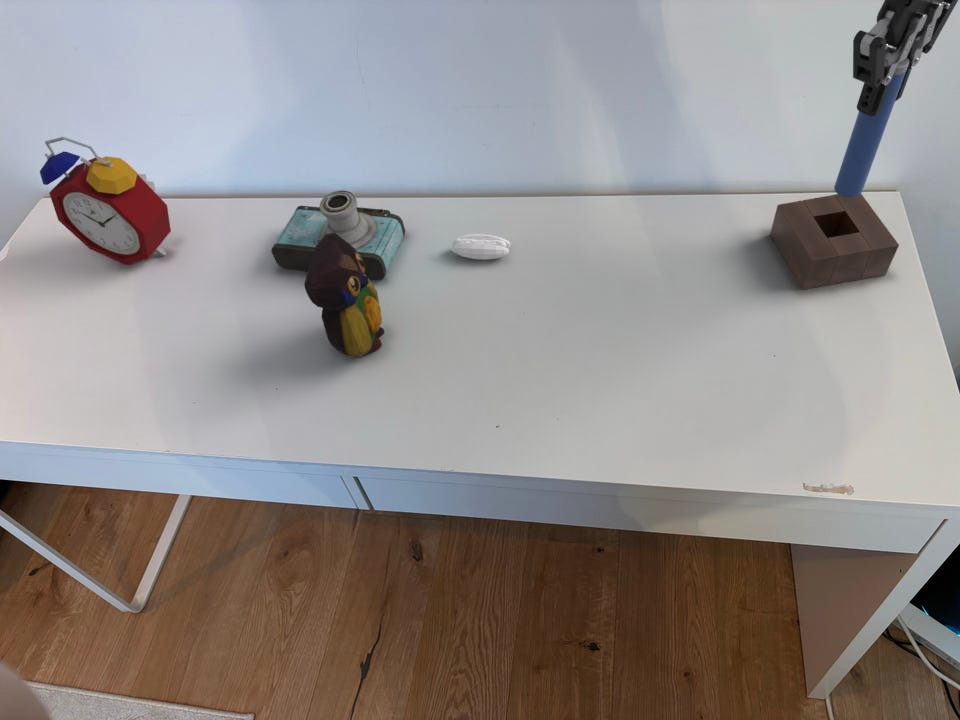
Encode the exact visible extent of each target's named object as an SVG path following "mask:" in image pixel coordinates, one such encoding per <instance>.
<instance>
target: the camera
mask: <svg viewBox="0 0 960 720" xmlns="http://www.w3.org/2000/svg"><path fill="white" fill-rule="evenodd" d="M334 232H335V233H336V234H337V235H338V236H340V237H341V238H342V239H344V240H345V241H346V242H348V243H349V244H350V245H351V246H352V247H354V248H355V249H356V251H357V252H358V253H359V254H360V256H361V258H362V260H363V263H364V267H365V273H364V274H365V275H366V276H367V277H368V279H369V280H383V279H384V278H385V277H386V275H387V273H388V270H390V266H391V265H392V262H393V260H394V258H395V256H396V254H397V252H398V249H399V248H400V245H401V243H402V241H403V239H404V237H405V235H406V229H405V224H404V222H403V219H402V217H401V216H399V215H398V214H395V213H391V211H390V210H389V209H383V208H371V207H370V208H369V207H358V200H357V197H356V194H354V193H353V192H352V191H349V190H336V191H333V192H330V193H328V194H327V195H325V196H324V197H323V198H322V199H321V200H320V202H319V206H309V205H298V206H297V207H296V209H295V210H294V212H293V213H292V215H291V216H290V218H289V220H288V221H287V223H286V225H285V226H284V228H283V229H282V231H281V233H280V235H279V236H278V237H277V239H276V241H275V242H274V244H273V246H272V248H271V249H270V250H271V251H270V252H271V254H272V256H273V258H274V261H275V263H276V264H277V265H278V266H279V267H280V268H283V269H285V270H292V271H301V272H308V266H309V264H310V262H311V259H312V257H313V254H314V251H315V248H316V246H317V244H318V243H319V242H320V241H321V240H322V238H323V237H324V236H325V235H326V234H330V233H334Z"/></svg>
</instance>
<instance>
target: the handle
mask: <svg viewBox="0 0 960 720" xmlns="http://www.w3.org/2000/svg"><path fill="white" fill-rule="evenodd" d="M887 64H888V62H887V60H885V63H884V70H885V69H886V67H887ZM908 65H909V59H908V58H907V57H906V59H905V60H903V61H900V62H899V63H898V65H897V68H896V70H895V72H894V75H893V77H892V79H891V81H890V85H889V87H888V90H887V93H886V96H885V99H884V102H883V104H882V107H881V110H880V112H879V113H878V114H876V115H875V116H873V117H871V116H869V115H866V114H864V113H862V112H860V111H858V112H857V116H856V118H855V121H854V125H853V128H852V131H851V134H850V136H849V140H848V143H847V147H846V150H845V153H844V156H843V159H842V161H841V165H840V168H839V171H838V173H837V177H836V179H835V184H834V186H833V188H834V189H833V190H834V192H835V193H836V194H839V195H841V196H843V197H856V196H859V195H860V194H862V193H863V191H864V190H863V189H864V187H865V184H866V182H867V179H868V177H869V174H870V171H871V169H872V166H873V164H874V160H875V157H876V155H877V152H878V150H879V147H880V144H881V141H882V138H883V136H884V134H885V133H884V132H885V130H886V128H887V125H888V122H889V119H890V116H891V114H892V111H893V108H894V105H895V103H896V101H895V100H896V98H897V95H898V92H899V89H900V87H901V84H902V81H903V78H904V76H905V73H906V70H907V67H908Z"/></svg>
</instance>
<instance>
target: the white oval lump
mask: <svg viewBox="0 0 960 720" xmlns="http://www.w3.org/2000/svg"><path fill="white" fill-rule="evenodd" d="M511 246H512V244H511V242H510V241H509V240H508V239H505V238H503V237H501V236H497V235H490V234H481V233H480V234H479V233H474V234H463V235H461V236H458V237H456V238H454V239H453V242H452V246H451V251H452V252H453V253H454V254H456V255H458V256H459V257H462V258H466V259H471V260H485V261H487V260H494V259H499V258H502V257H506V256H507V255H508V254H509V253H510V248H511Z"/></svg>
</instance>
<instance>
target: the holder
mask: <svg viewBox="0 0 960 720" xmlns="http://www.w3.org/2000/svg"><path fill="white" fill-rule="evenodd" d="M769 235H770V237H771V239H772V241H773V242H774V243H775V245H776V247H777V249H778V250H779V252H780V254H781V257H783V259H784V262H785V263H786V264H787V266H788V268H789V269H790V271H791V273H792V275H793V276H794V278H795V280H796V282H797V283H798V285H799V286H800V288H801V290H808V289H814V288H815V289H816V288H819V287H825V286H831V285H836V284H842V283H847V282H848V283H849V282H853V281H858V280H865V279H871V278H876V277H883V276H886V275H887V273H888V271H889V269H890V266H891V264H892V262H893V260H894V258H895V255H896V253H897V251H898V249H899V246H900V244H899V243H898V242H897V240H896V238H894V236H893V235H892V233H891V232H890V230H889V229H888V228H887V226H886V225H885V223H884V222H883V221H882V219H880V217H879V215H878V214H877V213H876V211H875V210H874V209H873V208H872V206H871V205H870V203H869V202H868V200H867V199H866V198H865V196H864V195H863V194H862V193H861V194H860V195H859V196H856V197H843V196H841V195H839V194H837V193H836V194H835V193H834V194H831V195H825V196H820V197H819V196H818V197H813V198H808V199H807V198H806V199H803V200H796V201H791V202H785V203H779V204H777V206H776V210H775V213H774V218H773V222H772V225H771V230H770V233H769Z"/></svg>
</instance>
